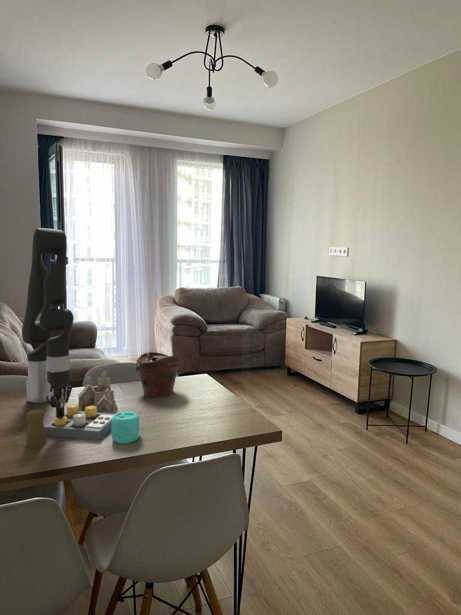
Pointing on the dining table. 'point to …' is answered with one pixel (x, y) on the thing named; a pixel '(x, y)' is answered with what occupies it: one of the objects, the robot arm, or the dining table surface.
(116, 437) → the decorative dice
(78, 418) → the white button
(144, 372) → the brown tapered round container
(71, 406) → the amber button
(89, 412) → the amber button
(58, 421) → the amber button
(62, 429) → the button board
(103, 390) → the ceramic cottage
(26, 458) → the dining table surface
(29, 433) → the olive rounded cylinder
